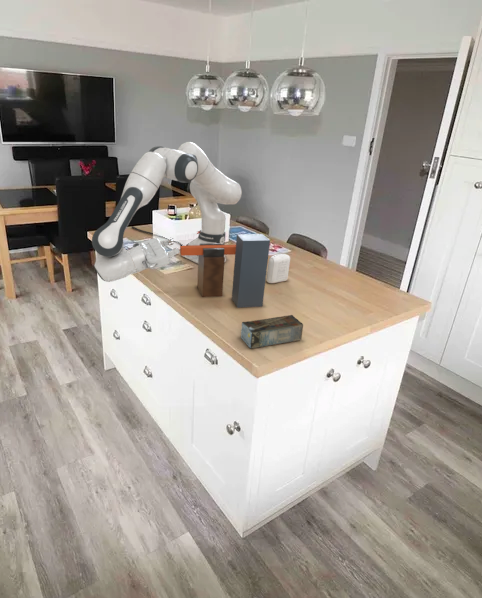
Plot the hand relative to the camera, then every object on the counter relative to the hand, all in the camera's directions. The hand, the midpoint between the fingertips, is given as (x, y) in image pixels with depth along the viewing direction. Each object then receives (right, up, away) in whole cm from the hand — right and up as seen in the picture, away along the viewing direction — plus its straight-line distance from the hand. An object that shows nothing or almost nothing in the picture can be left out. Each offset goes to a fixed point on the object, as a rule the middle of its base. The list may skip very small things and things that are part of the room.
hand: (175, 245), depth 155 cm
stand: (+27, -21, +5) cm, 35 cm away
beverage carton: (+34, -33, -19) cm, 51 cm away
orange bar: (+13, -2, +6) cm, 15 cm away
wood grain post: (+12, -17, +13) cm, 24 cm away
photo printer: (+41, -12, +28) cm, 51 cm away
